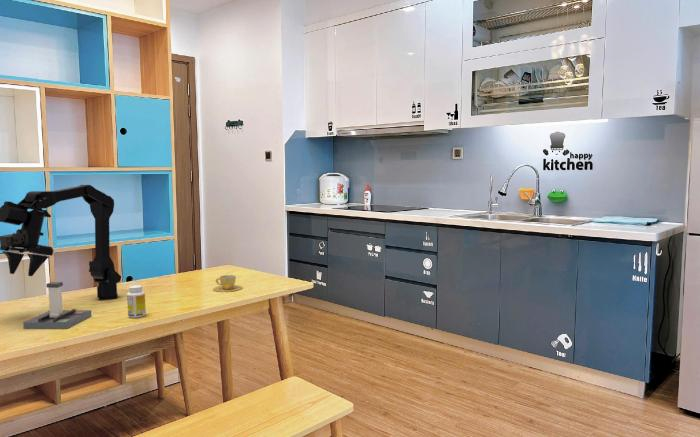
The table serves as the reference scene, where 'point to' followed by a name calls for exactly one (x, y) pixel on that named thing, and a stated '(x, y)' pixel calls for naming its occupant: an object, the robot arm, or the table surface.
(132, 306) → the supplement bottle
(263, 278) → the table surface
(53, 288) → the handle
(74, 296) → the table surface
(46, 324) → the box
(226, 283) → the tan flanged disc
